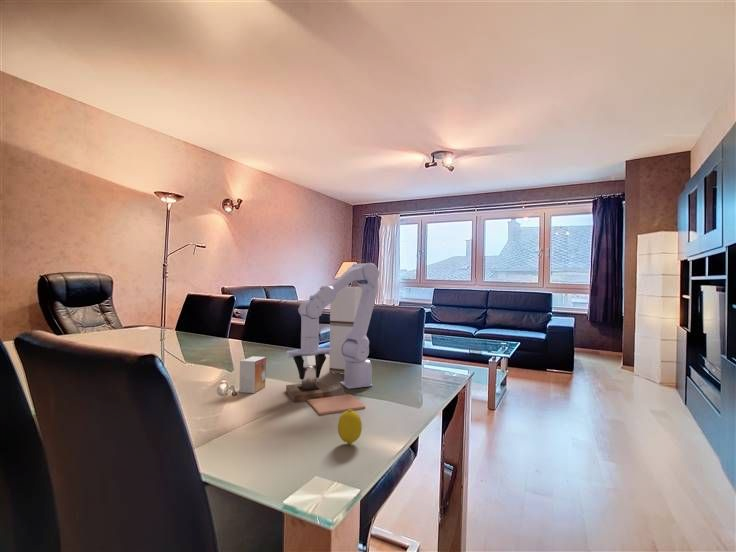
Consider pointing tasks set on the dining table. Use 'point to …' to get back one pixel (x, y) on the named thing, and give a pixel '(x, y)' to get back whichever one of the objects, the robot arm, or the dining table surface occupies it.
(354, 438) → the lemon
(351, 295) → the white tall column
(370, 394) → the dining table surface
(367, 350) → the robot arm
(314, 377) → the end cover
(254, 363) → the small box
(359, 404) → the tile
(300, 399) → the bore block
